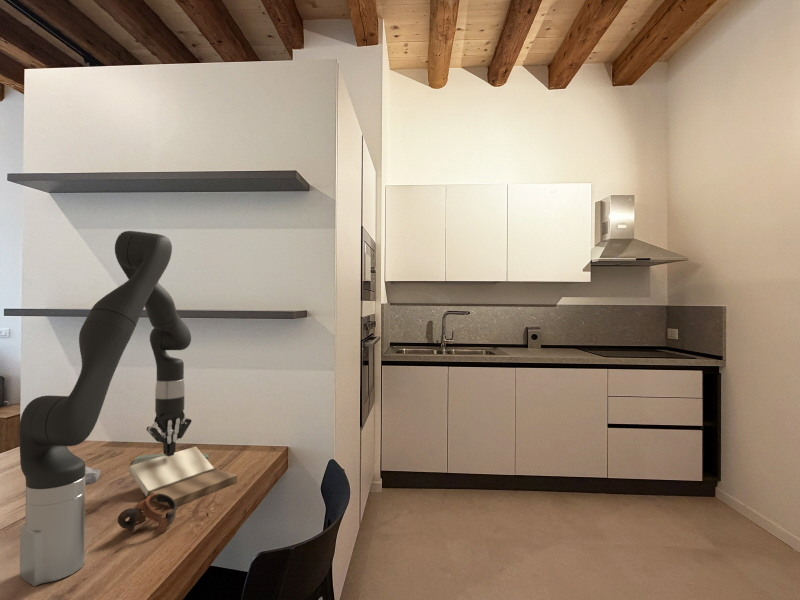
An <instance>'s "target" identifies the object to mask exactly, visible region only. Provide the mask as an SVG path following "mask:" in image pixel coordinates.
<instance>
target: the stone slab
mask: <svg viewBox="0 0 800 600" xmlns="http://www.w3.org/2000/svg"><path fill="white" fill-rule="evenodd" d="M201 453H202V454H203V456H204V457H205V458H206V459H209V458H210V456H209V454H208V453H207V454H205V453H206V452H201ZM162 456H165V454H164V453H153V454H152V453H151V454H141V455H137V456H136V457H134V458H133V461H132V464H131V465H134V464H138V463H141V462H144V461H148V460H151V459H155V458H158V457H162Z"/></svg>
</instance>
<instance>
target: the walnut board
mask: <svg viewBox="0 0 800 600" xmlns="http://www.w3.org/2000/svg"><path fill="white" fill-rule="evenodd" d="M236 483H238V475H237V474H234V473H231V472H228V471H224V470H221V469H217V468H215V467H214V469H211V470H208V471H206V472H203V473H200V474H197V475H194V476H191V477H188V478H186V479H183V480H180V481H177V482H174V483H171V484H169V485H166V486H163V487H160V488H157V489H154V490H151V491H149V495H151V494H157V493H159V494H165V495H167V496H169V497H171V498H172V499H173V500H174V501H175V502H176V504H177V507H179V506H181V505H183V504H187V503H189V502H191V501H194V500H196V499H199V498H202V497H204V496H206V494H207V495H208V494H211V492H212V493H214V492H216V491H219V490H222V489H224V488H226V487H229V486H232V485H234V484H236ZM201 496H202V497H201ZM157 501H158V500H157V499H153V500H152V501H151V502H155V503H158V504H160V505H163V506H166V507H168V508H170V506H169V504H168V503H167V502H157Z"/></svg>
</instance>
